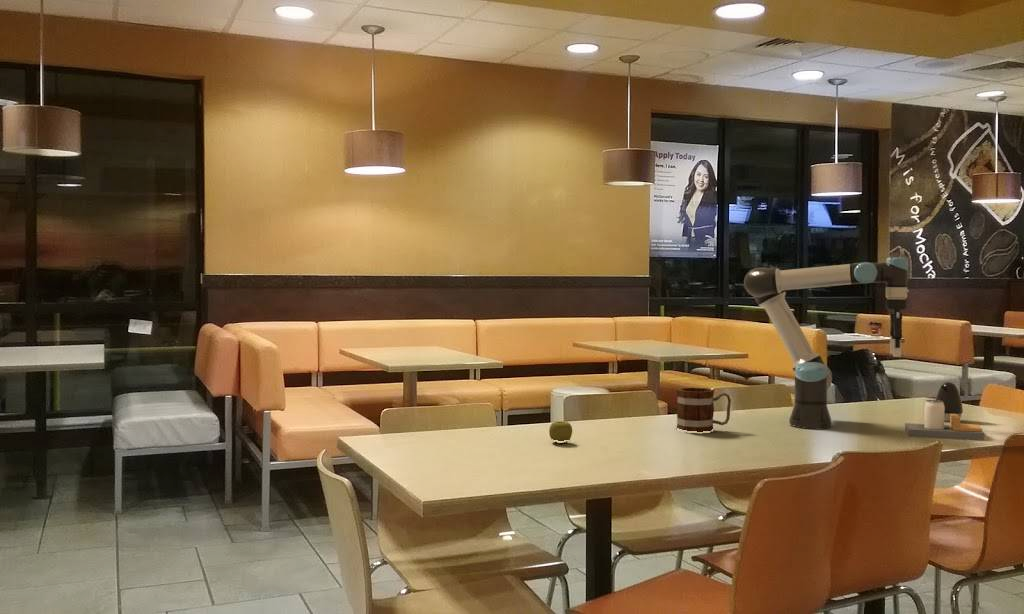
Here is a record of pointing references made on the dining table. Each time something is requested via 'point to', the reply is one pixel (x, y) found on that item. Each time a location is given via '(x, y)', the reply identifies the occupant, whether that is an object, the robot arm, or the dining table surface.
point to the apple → (560, 431)
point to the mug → (698, 409)
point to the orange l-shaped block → (962, 427)
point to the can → (934, 414)
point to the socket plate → (941, 432)
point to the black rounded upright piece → (950, 400)
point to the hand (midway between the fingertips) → (895, 355)
